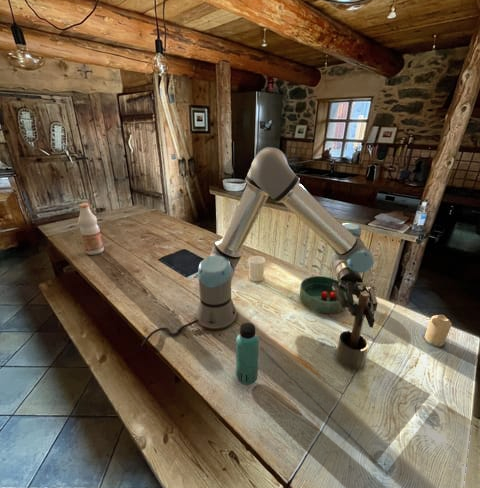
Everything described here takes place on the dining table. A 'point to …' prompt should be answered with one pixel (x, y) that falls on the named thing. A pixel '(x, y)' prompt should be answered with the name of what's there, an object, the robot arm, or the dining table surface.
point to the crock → (351, 351)
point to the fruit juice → (90, 230)
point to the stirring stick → (357, 329)
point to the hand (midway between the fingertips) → (366, 322)
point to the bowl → (319, 294)
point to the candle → (438, 330)
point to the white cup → (256, 268)
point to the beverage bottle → (247, 354)
